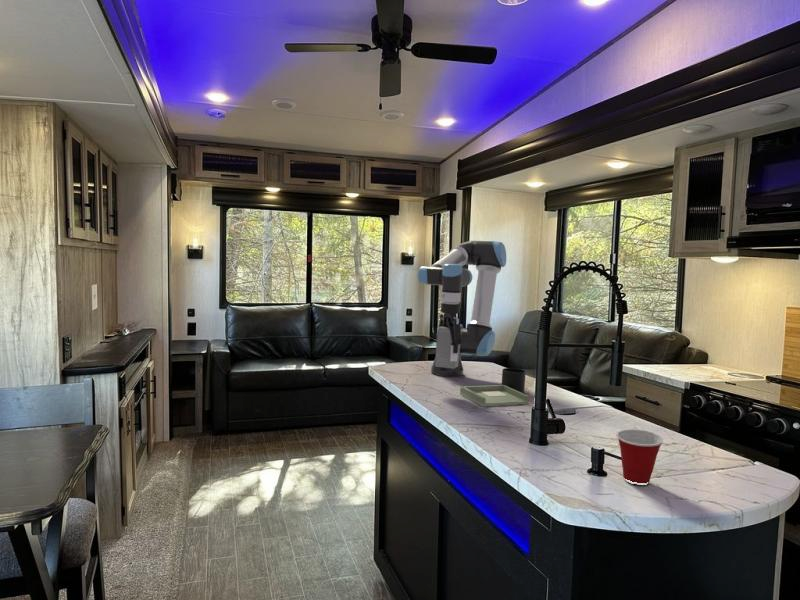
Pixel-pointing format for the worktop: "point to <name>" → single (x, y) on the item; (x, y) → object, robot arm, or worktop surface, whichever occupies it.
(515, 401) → the sage green tray
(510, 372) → the mug
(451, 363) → the skincare box
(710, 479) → the worktop surface
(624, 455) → the plastic cup
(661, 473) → the worktop surface
